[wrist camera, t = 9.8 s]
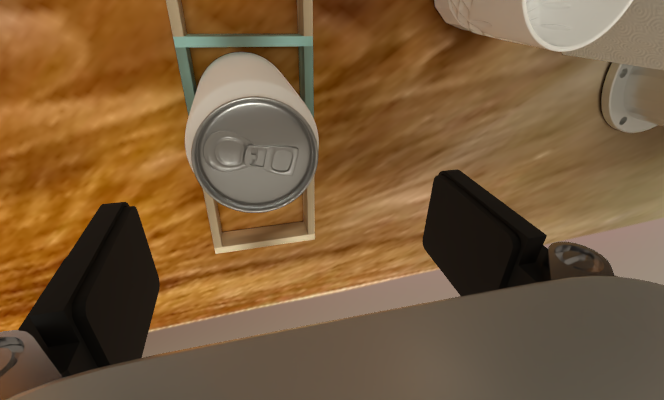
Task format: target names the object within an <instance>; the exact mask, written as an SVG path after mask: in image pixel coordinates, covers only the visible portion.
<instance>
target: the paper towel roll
mask: <svg viewBox="0 0 664 400" xmlns="http://www.w3.org/2000/svg"><path fill="white" fill-rule="evenodd" d="M562 55H569V56H575V57H582V58H588V59H594V60H601V61H607V62H614V63H620V64H627V65H633V66H639V67H646V68H652V69H659V70H664V0H633V2H632V3H631V5H630V6H629V8H628V9H627V10H626V12H625V13H624V14H623V15H622V17H621V18H620V19H619V20H618V21H617V22H616V23H615V24H614V25H613V26H612V27H611V28H610V29H609V30H608V31H607V32H606V33H605V34H603V35H602V36H601V37H599V38H598V39H597V40H595V41H593V42H592V43H590V44H588V45H586V46H584V47H582V48H579V49H576V50H572V51H567V52H562Z"/></svg>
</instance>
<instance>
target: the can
mask: <svg viewBox="0 0 664 400" xmlns="http://www.w3.org/2000/svg"><path fill="white" fill-rule="evenodd" d="M185 149H186V155H187V158H188V161H189V164H190V166H191V168H192V170H193V172H194V173H195V176H196V178H197V180H198V182H199V183H200V185H201V187H202V188H203V189H204V190H205V192H206V193H207V194H208V195H209V196H211V197H212V198H213V199H214V200H216V201H217V202H219V203H220V204H222V205H224V206H226V207H228V208H231V209H234V210H237V211H241V212H248V213H261V212H268V211H272V210H276V209H279V208H281V207H283V206H286V205H287V204H289V203H291V202H292V201H294V200H295V199H296V198H298V197H299V196H300V195H301V194H302V193H303V192H304V191H305V190H306V188H307V187H308V186H309V184H310V183H311V181H312V179H313V177H314V174H315V172H316V168H317V164H318V149H319V137H318V131H317V127H316V124H315V121H314V118H313V116H312V114H311V112H310V111H309V109H308V107H307V106H306V104H305V103H304V102H303V100H302V99H301V98H300V96H299V95H298V94H297V92H296V91H295V90H294V89H293V87H292V86H291V85H290V83H289V82H288V81H287V80H286V78H285V77H284V76H283V75H282V74H281V72H280V71H279V70H278V69H277V68H276V67H275V66H274V65H273V64H272V63H271V62H269V61H268V60H266V59H265V58H263V57H261V56H259V55H256V54H253V53H248V52H233V53H229V54H226V55H223V56H221V57H219V58H218V59H216V60H215V61H213V62H212V63H211V64H210V65H209V66H208V67H207V69H206V70H205V72H204V73H203V75H202V77H201V79H200V82H199V84H198V87H197V91H196V94H195V97H194V100H193V104H192V107H191V110H190V114H189V117H188V121H187V125H186V131H185Z"/></svg>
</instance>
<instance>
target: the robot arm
mask: <svg viewBox="0 0 664 400" xmlns="http://www.w3.org/2000/svg"><path fill="white" fill-rule="evenodd" d="M601 104H602V112H603V116H604V118H605V120H606V122H607V123H608V124H609V125H610V126H611V127H613V128H614V129H617V130H620V131H623V132H627V133H638V132H643V131H646V130H649V129H651V128H653V127H655V126H657V125H660V126H664V70H659V69H652V68H646V67H639V66H633V65H627V64H620V63H614V62H612V64H611V66H610V68H609V71H608V73H607V75H606V79H605V82H604V85H603V90H602V97H601ZM546 236H547V235H545V234H544V233H543V232H541V231H540V230H539V229H537V228H536V227H535V226H533V225H532V224H531V223H529V222H528V221H527V220H525V219H524V218H523V217H521V216H520V215H519V214H517V213H516V212H515V211H513V210H512V209H511V208H509V207H508V206H507V205H505V204H504V203H503V202H501V201H500V200H499V199H497V198H496V197H495V196H493V195H492V194H491V193H489V192H488V191H487V190H485V189H484V188H482V187H481V186H480V185H478V184H477V183H476V182H474V181H473V180H472V179H470V178H469V177H468V176H466V175H465V174H464V173H462V172H461V171H460V170H448V171H441V172H440V173H439V175H438V176H436V177H435V178H434V182H433V187H432V193H431V198H430V203H429V208H428V214H427V219H426V224H425V230H424V235H423V246H424V248H425V250H426V251H427V253H428V254H429V255H430V257H431V258H432V259H433V261H434V262H435V263H436V264H437V266H438V267H439V268H440V270H441V271H442V272H443V273H444V275H445V276H446V277H447V279H448V280H449V281H450V282H451V284H452V285H453V286H454V288H455V289H456V290H457V291H458V293H459V294H460V297H455V298H449V299H444V300H439V301H433V302H428V303H422V304H417V305H412V306H406V307H401V308H395V309H390V310H386V311H380V312H374V313H369V314H364V315H359V316H353V317H348V318H343V319H338V320H332V321H327V322H322V323H317V324H312V325H306V326H301V327H296V328H291V329H286V330H280V331H275V332H271V333H265V334H260V335H255V336H250V337H245V338H240V339H234V340H229V341H224V342H219V343H214V344H209V345H204V346H199V347H194V348H189V349H183V350H178V351H174V352H168V353H163V354H158V355H153V356H149V357H145V358H141V357H142V353H143V350H144V346H145V342H146V338H147V334H148V331H149V327H150V323H151V319H152V315H153V311H154V308H155V304H156V300H157V296H158V292H159V277H158V274H157V271H156V268H155V264H154V261H153V258H152V255H151V252H150V249H149V245H148V242H147V239H146V236H145V233H144V230H143V227H142V223H141V220H140V217H139V214H138V211H137V209H136V207H135V206H131V207H129V205H128V203H126V202H120V203H110V204H102V205H101V206H100V208H99V209H98V211H97V212H96V214H95V215H94V217H93V218H92V220H91V221H90V223H89V224H88V226H87V227H86V229H85V230H84V232H83V234H82V235H81V237H80V238H79V240H78V241H77V243H76V244H75V246H74V247H73V249H72V250H71V252H70V253H69V255H68V256H67V257H66V258H65V259H64V261H63V262H62V264H61V266H60V267H59V269H58V270H57V272H56V273H55V275H54V276H53V278H52V279H51V281H50V282H49V284H48V285H47V287H46V288H45V290H44V291H43V293H42V294H41V296H40V297H39V299H38V300H37V302H36V303H35V305H34V307H33V308H32V310H31V311H30V313H29V314H28V316H27V317H26V319H25V320H24V322H23V323H22V325H21V326H20V328H19V329H18V330H12V331H4V332H0V400H664V285H661V284H657V283H653V282H649V281H644V280H639V279H632V278H623V277H618V276H614V273H613V270H612V267H611V265H610V263H609V262H608V260H606V259H605V258H604V257H603V256H602V255H601V254H599V253H598V252H596V251H594V250H592V249H590V248H588V247H586V246H583V245H580V244H576V243H571V242H555V243H552V244H551V245H550V246H549V248H548V249H547V248H546V247H545V246H543V243H544V241H545V239H546Z"/></svg>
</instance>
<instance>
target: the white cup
mask: <svg viewBox="0 0 664 400" xmlns="http://www.w3.org/2000/svg"><path fill="white" fill-rule="evenodd" d="M632 2H633V0H434V3H435V8H436V9H437V11H438V12H439V14H440V15H441V16H442V18H443V19H444V21H445V22H446V23H448V24H450V25H452V26H455V27H457V28H459V29H462V30H468V31H471V32H473V33H476V34H480V35H484V36H489V37H492V38H497V39H500V40H504V41H509V42H514V43H518V44H523V45H528V46H533V47H538V48H543V49H547V50H552V51H557V52H567V51H572V50H576V49H579V48H582V47H584V46H586V45H588V44H590V43H592V42H593V41H595V40H597V39H598V38H599V37H601V36H602V35H603V34H605V33H606V32H607V31H608V30H609V29H610V28H611V27H612V26H613V25H614V24H615V23H616V22H617V21H618V20H619V19H620V18H621V17H622V15H623V14H624V13H625V12H626V10H627V9H628V8H629V6H630V5H631V3H632Z"/></svg>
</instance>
